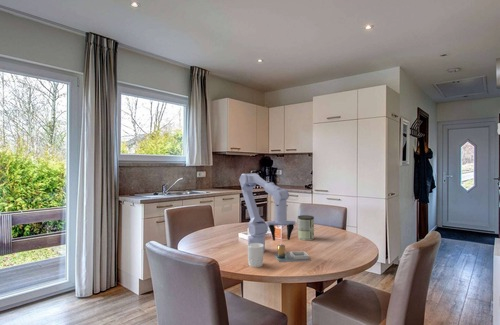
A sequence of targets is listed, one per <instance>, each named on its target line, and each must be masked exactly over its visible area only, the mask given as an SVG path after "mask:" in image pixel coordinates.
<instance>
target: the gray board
mask: <svg viewBox="0 0 500 325" xmlns="http://www.w3.org/2000/svg"><path fill="white" fill-rule="evenodd" d="M273 255H274V257H275V259H276V260H278V263H293V262H308V261H309V262H310V261H312V260H311V258H310V255H309V254H308V253H307V252H306V251H305V250H299V251H298V250H297V251H289V252H285V258H284V259H279V258H277V252H276V253H273Z"/></svg>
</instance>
